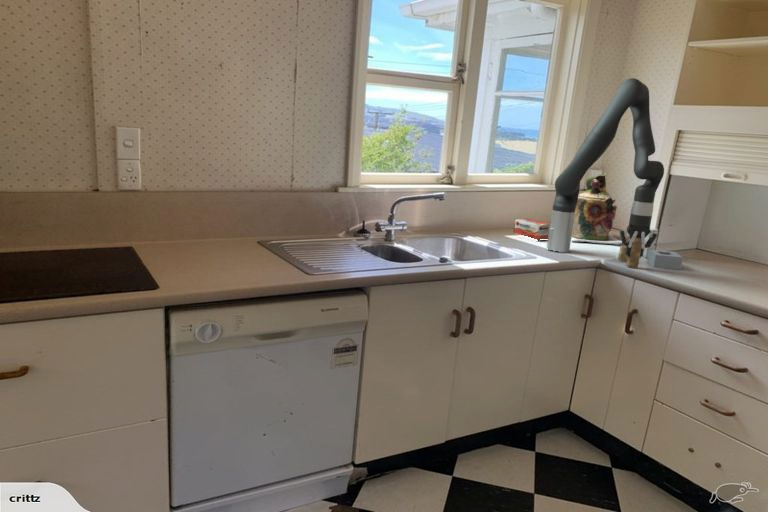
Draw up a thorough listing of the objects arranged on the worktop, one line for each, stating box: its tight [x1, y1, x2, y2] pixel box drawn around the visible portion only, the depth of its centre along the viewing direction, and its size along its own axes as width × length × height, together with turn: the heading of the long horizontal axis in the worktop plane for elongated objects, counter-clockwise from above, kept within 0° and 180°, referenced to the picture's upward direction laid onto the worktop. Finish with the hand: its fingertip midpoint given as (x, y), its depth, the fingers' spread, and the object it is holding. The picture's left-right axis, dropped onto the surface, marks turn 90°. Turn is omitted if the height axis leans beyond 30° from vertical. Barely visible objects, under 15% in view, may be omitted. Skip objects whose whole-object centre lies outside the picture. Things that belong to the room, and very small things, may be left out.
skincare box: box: [641, 227, 659, 259], centre depth 233 cm, size 6×4×12 cm
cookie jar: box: [571, 173, 623, 246], centre depth 262 cm, size 25×25×32 cm
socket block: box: [646, 249, 684, 271], centre depth 220 cm, size 10×10×5 cm
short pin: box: [617, 244, 628, 263], centre depth 223 cm, size 3×3×6 cm
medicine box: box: [513, 218, 551, 240], centre depth 259 cm, size 15×8×8 cm, turn 34°
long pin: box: [626, 238, 642, 270], centre depth 212 cm, size 3×3×12 cm
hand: (633, 256), depth 213 cm, fingers closed on long pin, 3 cm apart
